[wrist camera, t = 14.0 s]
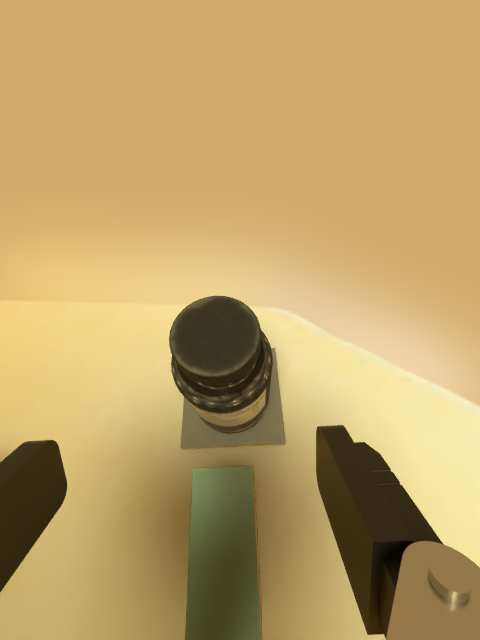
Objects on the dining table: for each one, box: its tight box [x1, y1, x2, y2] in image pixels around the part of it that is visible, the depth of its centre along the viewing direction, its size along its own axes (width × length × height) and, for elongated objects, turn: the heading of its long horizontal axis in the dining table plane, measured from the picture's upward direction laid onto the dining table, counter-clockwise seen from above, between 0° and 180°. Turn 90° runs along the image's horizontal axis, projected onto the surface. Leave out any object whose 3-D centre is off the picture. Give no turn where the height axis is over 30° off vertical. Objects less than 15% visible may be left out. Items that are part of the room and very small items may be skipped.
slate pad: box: [181, 348, 286, 450], centre depth 24 cm, size 8×8×1 cm
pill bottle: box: [169, 296, 273, 434], centre depth 19 cm, size 6×6×11 cm
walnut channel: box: [185, 466, 262, 640], centre depth 16 cm, size 21×7×8 cm, turn 93°
